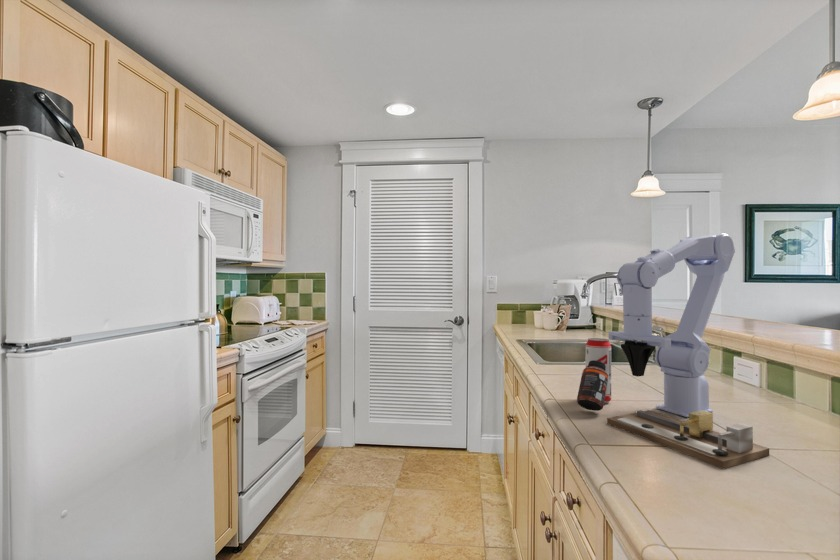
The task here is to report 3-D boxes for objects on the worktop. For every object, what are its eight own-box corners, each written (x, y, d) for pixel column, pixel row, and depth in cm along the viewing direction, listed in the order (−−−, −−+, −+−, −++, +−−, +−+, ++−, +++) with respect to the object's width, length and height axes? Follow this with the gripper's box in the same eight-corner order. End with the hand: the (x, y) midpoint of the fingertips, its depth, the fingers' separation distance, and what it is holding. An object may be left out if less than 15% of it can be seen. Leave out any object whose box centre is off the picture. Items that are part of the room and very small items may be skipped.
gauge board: (648, 415, 96) (648, 392, 96) (769, 455, 74) (769, 425, 74) (607, 423, 91) (606, 399, 91) (723, 468, 69) (723, 437, 69)
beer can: (609, 405, 103) (609, 341, 103) (582, 401, 106) (583, 339, 107) (612, 400, 108) (613, 339, 109) (587, 396, 112) (587, 337, 112)
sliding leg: (702, 431, 82) (702, 410, 82) (712, 434, 80) (712, 413, 80) (675, 437, 79) (675, 415, 79) (686, 440, 77) (685, 418, 77)
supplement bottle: (606, 406, 94) (613, 362, 100) (578, 397, 96) (587, 355, 102) (599, 414, 99) (606, 372, 105) (573, 405, 101) (582, 365, 107)
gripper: (598, 313, 98) (599, 370, 98) (654, 318, 85) (655, 384, 85) (620, 312, 101) (620, 368, 101) (677, 317, 88) (678, 381, 88)
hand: (638, 375), depth 93 cm, fingers closed
